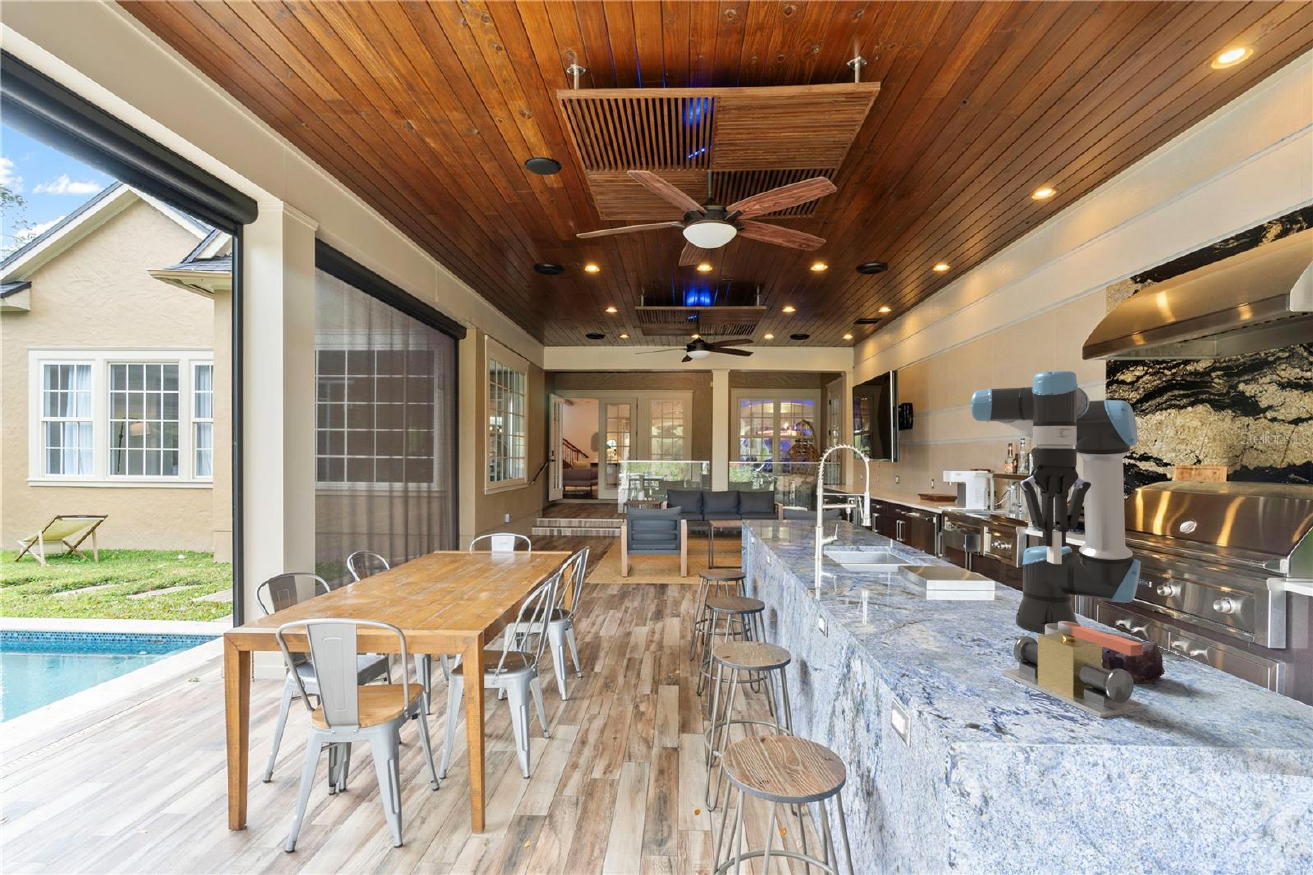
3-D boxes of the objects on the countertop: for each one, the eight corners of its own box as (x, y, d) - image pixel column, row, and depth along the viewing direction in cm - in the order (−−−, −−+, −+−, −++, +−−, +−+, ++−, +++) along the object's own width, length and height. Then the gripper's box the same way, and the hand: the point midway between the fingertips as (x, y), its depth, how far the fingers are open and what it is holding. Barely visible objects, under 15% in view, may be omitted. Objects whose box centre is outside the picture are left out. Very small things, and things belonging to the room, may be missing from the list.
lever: (1053, 630, 129) (1053, 621, 129) (1068, 629, 130) (1068, 619, 130) (1128, 656, 114) (1128, 645, 114) (1144, 654, 115) (1144, 644, 115)
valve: (1043, 669, 140) (1043, 617, 140) (1144, 709, 119) (1144, 648, 119) (1003, 675, 136) (1003, 621, 137) (1100, 717, 115) (1100, 654, 116)
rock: (1099, 675, 140) (1121, 691, 130) (1092, 638, 141) (1113, 651, 131) (1157, 672, 137) (1184, 688, 128) (1150, 634, 138) (1176, 647, 128)
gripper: (1029, 447, 120) (1028, 565, 120) (1100, 447, 118) (1099, 567, 118) (1012, 446, 127) (1011, 558, 127) (1078, 447, 126) (1078, 560, 126)
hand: (1054, 562), depth 123 cm, fingers closed
